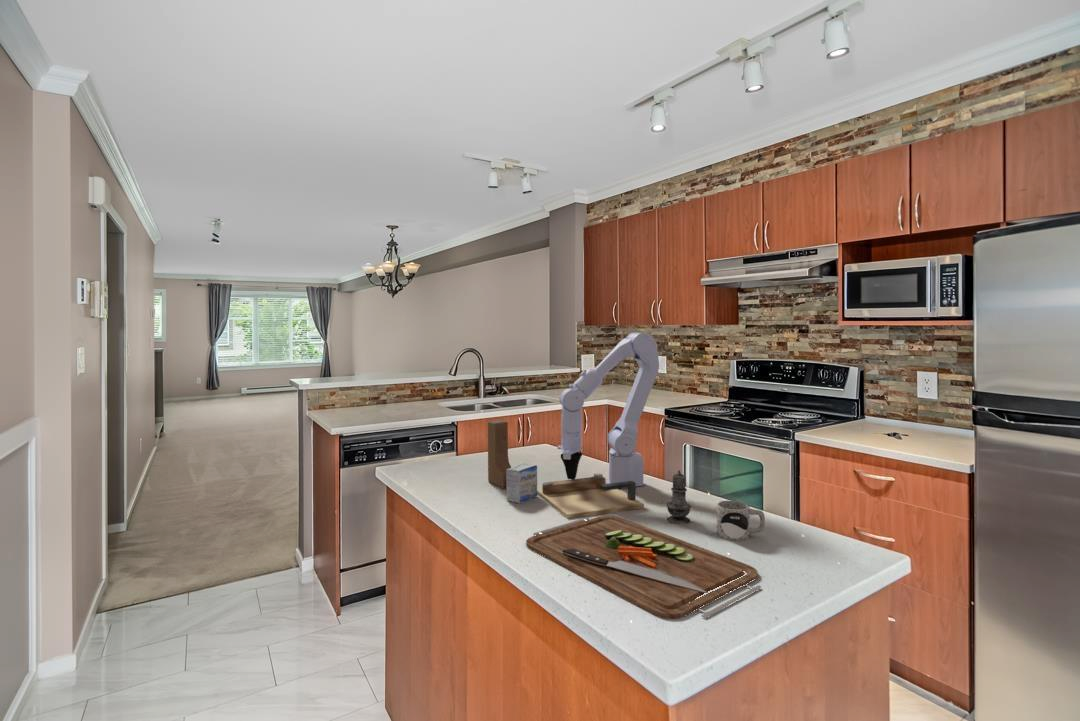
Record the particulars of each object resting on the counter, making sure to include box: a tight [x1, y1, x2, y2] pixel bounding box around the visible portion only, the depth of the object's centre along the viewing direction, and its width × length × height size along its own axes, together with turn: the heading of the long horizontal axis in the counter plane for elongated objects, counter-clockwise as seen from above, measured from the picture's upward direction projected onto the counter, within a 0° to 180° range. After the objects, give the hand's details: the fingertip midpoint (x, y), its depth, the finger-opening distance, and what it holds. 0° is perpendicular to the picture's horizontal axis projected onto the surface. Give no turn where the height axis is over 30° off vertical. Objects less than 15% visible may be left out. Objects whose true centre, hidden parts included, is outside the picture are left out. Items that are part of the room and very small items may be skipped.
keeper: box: [600, 481, 637, 500], centre depth 143 cm, size 9×2×6 cm, turn 111°
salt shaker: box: [665, 469, 693, 525], centre depth 132 cm, size 6×6×12 cm
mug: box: [716, 500, 766, 542], centre depth 122 cm, size 10×7×7 cm
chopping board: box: [525, 515, 762, 620], centre depth 111 cm, size 45×27×3 cm, turn 38°
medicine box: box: [506, 462, 538, 504], centre depth 149 cm, size 8×4×9 cm, turn 143°
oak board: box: [537, 483, 645, 520], centre depth 147 cm, size 21×21×1 cm
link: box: [541, 472, 607, 494], centre depth 153 cm, size 18×4×3 cm, turn 111°
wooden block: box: [487, 419, 512, 489], centre depth 162 cm, size 9×4×18 cm, turn 34°
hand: (571, 478), depth 160 cm, fingers closed
